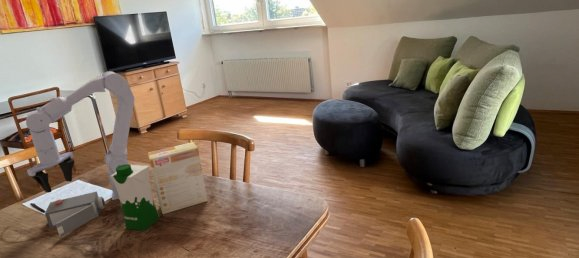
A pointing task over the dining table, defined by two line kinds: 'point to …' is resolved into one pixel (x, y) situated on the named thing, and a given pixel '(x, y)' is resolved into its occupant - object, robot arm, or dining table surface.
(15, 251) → the dining table surface
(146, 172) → the milk carton
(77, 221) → the side door
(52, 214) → the box
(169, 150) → the coffeecake box
